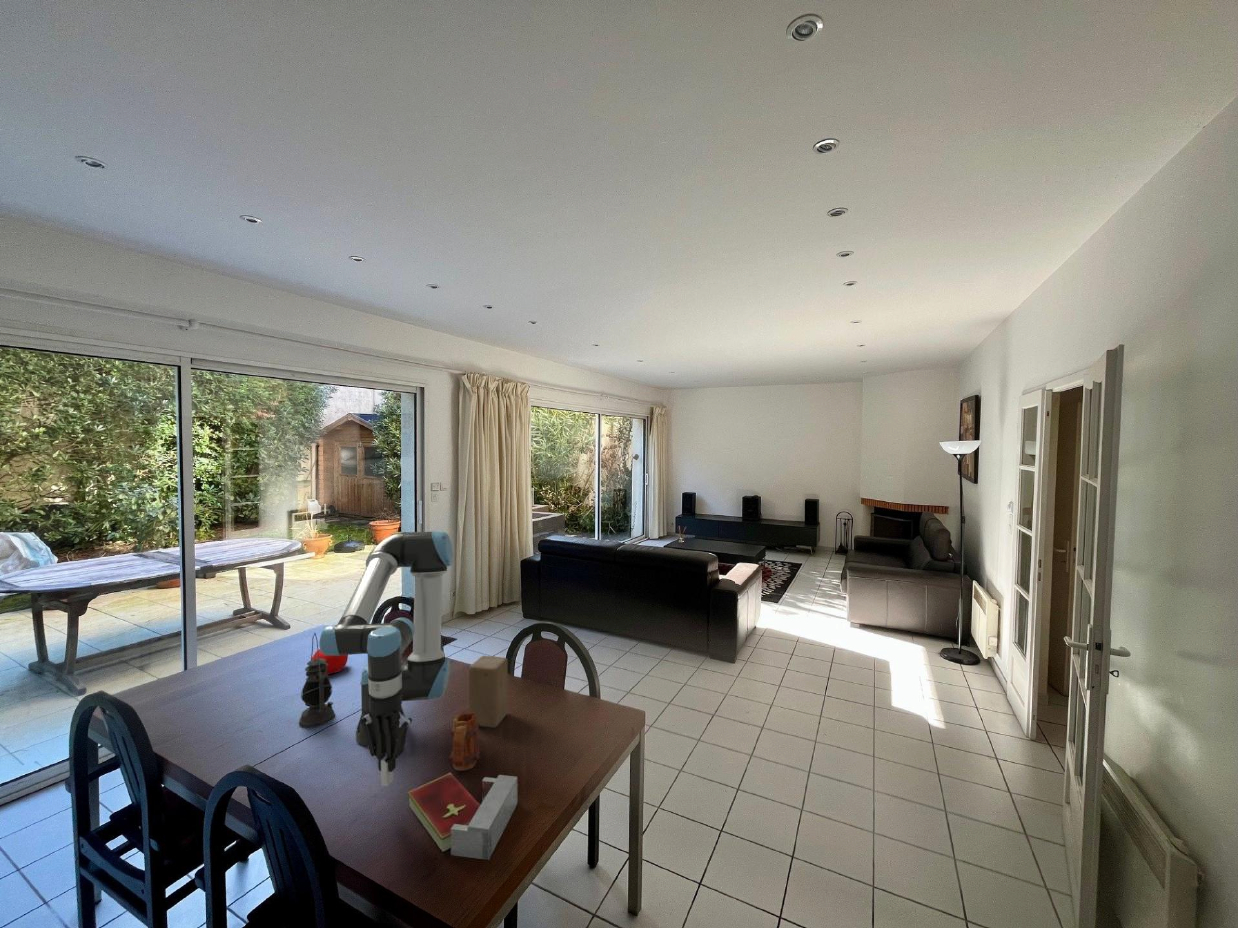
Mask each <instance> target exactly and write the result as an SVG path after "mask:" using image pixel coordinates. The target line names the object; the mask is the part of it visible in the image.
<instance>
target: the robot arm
mask: <svg viewBox="0 0 1238 928" xmlns="http://www.w3.org/2000/svg"><path fill="white" fill-rule="evenodd" d="M453 553H454V552H453V545H452V541H451V538H450V535H449V534H448V533H447V532H445V531H437V530H436V531H434V530H432V531H401V532H398V533H394V534H391V535H389V536H387V537H386V538H384V539H383V540H381V541H380V542H379V543H377V544H376V546H374V547H373V549H372V550H371V552H370V553H369V554H368V556H367V557H366V559H365V567H366V568H365V569H364V571H363V574H362V575H361V578H360V579H359V582H358V583H357V586H356V588H355V589H354V591H353V593H352V595H351V597H350V599H349V601H348V603H347V605H346V607H345V609H344V611H343V614H342V615H341V617H340V618H339V621H338V623H337V624H336V625H335V624H333V625H328V626H326V627H325V628H324V629H323V630H322V631H321V634H320V637H319V641H318V647H319V649H320V650H321V652H322V654H324V655H335V656H340V655H348V656H350V655H351V656H352V655H362V654H363V655H364V654H367V665H366V666H365V667H364V668H363V669H362V672H361V680H360V686H361V687H360V688H361V689H360V691H361V693H360V694H361V714H360V717H359V720H358V723H357V726H356V730H355V741H356V743H358V744H359V745H360V746H365V747H368V750H369V754H370V757H376V758H377V760H378V764H377V765H378V766H377V767H378V771H380V775H381V776H380V778H381V780H380V783H381V784H380V785H381V786H383V787H388V786H389V784H391V782H392V781H393V780H394V770H395V769H396V766H397V759H398V758H399V757H400V756H401V755H402V753H403V752H404V749H405V744H406V740H407V736H408V731H409V727H410V725H411V724H412V722H413V719H412V718H411V717H408V718H407V716H406V714H405V711H404V707H403V706H402V705H403V702H411V701H426V700H427V701H430V700H437V699H440V698H442V697H444V694H445V692H446V690H447V687H448V682H449V679H450V673H451V661H450V659H446V653H445V652H444V651H443V650H442V649H441V642H442V638H441V637H442V636H441V635H442V605H443V603H442V602H443V601H442V599H443V597H442V596H443V576H444V575H445V574H446V573H447V572H448V567H450V566H452V565H453V558H454V557H453ZM399 568H410V570H409V573H410V575H412V576H413V577H414V601H413V621H411V620H410V619H409V618H407V617H397V618H395V619H393V620H392V621H390V622H385V623H384V622H381V623H380V622H379V623H371V621H372V618H373V616H374V615H375V614H374V613H375V612H376V609H377V607H378V605H379V603H380V601H381V598H382V595H383V593H384V592H385V589H386V587H387V584H388V583H389V580H390V577H391V576H392V575H394V574H395V573H396V571H397V570H398V569H399ZM411 643H412V652H411V653H410V654H409V655H408V657H407V661H406V662H402V655H403V654H404V652H405V651H406V649H407V648H408V647H409V645H410V644H411Z"/></svg>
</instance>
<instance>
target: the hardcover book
mask: <svg viewBox="0 0 1238 928" xmlns="http://www.w3.org/2000/svg"><path fill="white" fill-rule="evenodd" d="M406 794H407V795H408V797H409V798H408V799H409V807H410V808H411V810H412V811H413V813H414V814H415V815H416V817H417V818H418V820H419V821H420V822H421V824H422V825H423V827H424V828H425V829H426V830H427V832H428V834H429V835H430V836H431V838H432V839H433V841H434V842H435V843H436V845H437V846H438V848H439V849H440V850H441V851H442V853H443V852H445V851H448V850H449V849H451V828H452V826H453V825H454V824H459V825H467V826H468V825H469V823H470V822H471V820H472V818H473V817H474V815H475V813H476V812H477V810H478V809H479V807H480V805H481V803H479V802H478V801H477V800H476V798H475V797H474V796H473V795H472V794H471V793H470V792H469V791H468V789H466V788H465V786H464V785H463V784H462V783H461V782H460V780H458V779H457V778H456V776H455V775H453V774H452V772H449V773H446V774H444V775H443V776H440V777H438V778H436V779H434V780H431V781H430V782H427V783H425V784H422V785H421V786H418V787H416V788H414V789H411V790H409V791H407V793H406Z"/></svg>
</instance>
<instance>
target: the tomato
mask: <svg viewBox="0 0 1238 928" xmlns="http://www.w3.org/2000/svg"><path fill="white" fill-rule="evenodd" d="M318 652H319V658H323V659H326V662H325V663H327V664H328V667H327V672H326V673H325V674H327V675H330V674H336V673H338V672H340V671H342V670H343V669H344V668H345V666H346V665H347V663H348V660H349V655H340V656H335V655H324V654H322V652H321V650H320V648H318ZM318 652H317V650H316V651H315V653H318ZM315 653H314V654H312V660H314V659H315ZM316 659H318V657H317V654H316Z"/></svg>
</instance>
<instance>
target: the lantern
mask: <svg viewBox="0 0 1238 928" xmlns="http://www.w3.org/2000/svg"><path fill="white" fill-rule="evenodd" d="M314 637H315V640H316V648H317V649H316V651H317V652H318V650H319V641H318V638H317V633H316V632H314V633H313V635H312V639H311V640H312V641H311V653H310V660H309V661H307V663H306V665H307V666H306V667H305V668H304V671H305V676H306V679H305V683H304V685H303V687H302V690H301V693H300V698H301V700H302V701H303V703H304V705H305V706H306V707H307V708H305V709H304V710H303V711H302V713H301V715H300V718H299V721H298V726H299V727H301V728H305V729H314V728H317V727H321V726H322V727H323V726H324V725H326V724H329V723H330V722H331V721H333V720H334V718H335V717H336V714H335V711H334V709H333V705H334V702H332V701H329V699H330V698H331V696H332V694H333V691H332V689H333V685H332V683H331V680H330V679H329V677H328V674H325V673H326V672H327V667H328V664H327V663H325V662H326V659H323V658H319V652H318V653H316V652H314V654H315V659H314V660H312V657H313V651H314ZM316 654H317V657H318V659H316Z"/></svg>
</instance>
